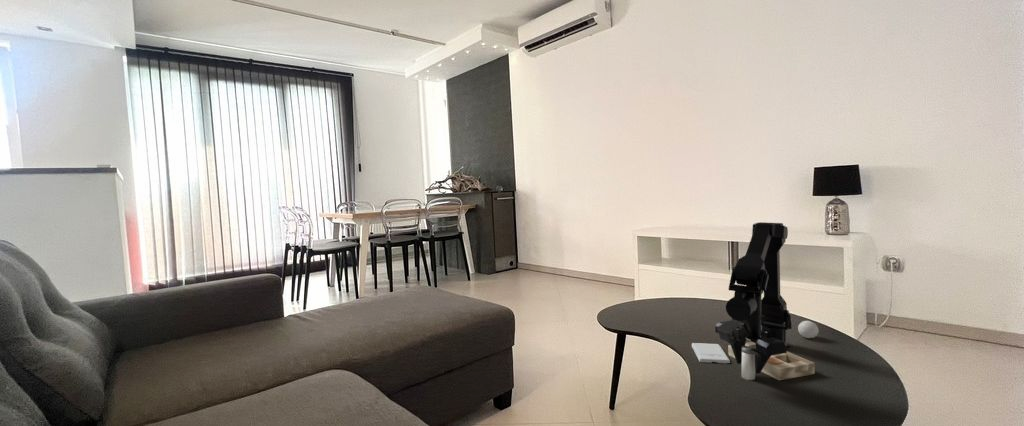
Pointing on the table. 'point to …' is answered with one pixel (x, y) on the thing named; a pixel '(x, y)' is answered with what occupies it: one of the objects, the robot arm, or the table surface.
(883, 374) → the table surface
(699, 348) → the external hard drive
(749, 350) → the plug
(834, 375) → the table surface
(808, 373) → the socket block
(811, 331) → the white egg
